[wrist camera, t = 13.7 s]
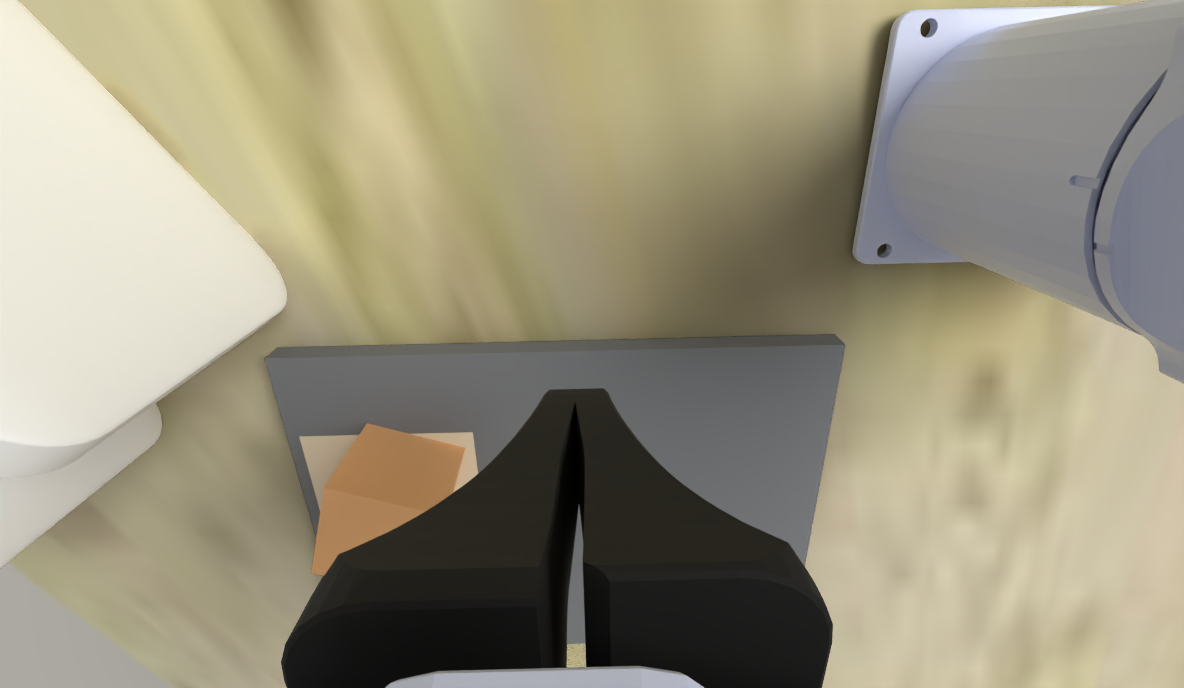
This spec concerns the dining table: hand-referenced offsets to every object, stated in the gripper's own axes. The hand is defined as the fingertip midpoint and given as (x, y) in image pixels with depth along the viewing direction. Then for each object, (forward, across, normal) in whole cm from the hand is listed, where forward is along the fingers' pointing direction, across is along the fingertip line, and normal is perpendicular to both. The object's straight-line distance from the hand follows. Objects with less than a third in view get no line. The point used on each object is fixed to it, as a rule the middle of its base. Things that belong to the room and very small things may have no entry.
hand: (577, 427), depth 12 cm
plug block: (+8, +7, +8) cm, 13 cm away
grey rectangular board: (+9, +1, +10) cm, 14 cm away
